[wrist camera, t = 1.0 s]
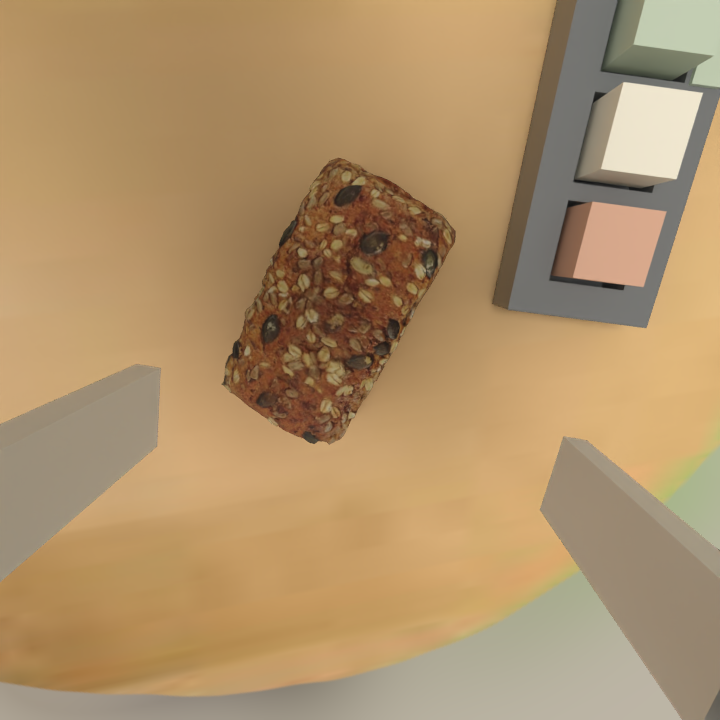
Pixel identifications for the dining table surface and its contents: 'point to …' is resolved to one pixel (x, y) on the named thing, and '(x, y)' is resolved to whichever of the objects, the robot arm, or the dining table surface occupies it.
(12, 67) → the dining table surface
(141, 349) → the dining table surface
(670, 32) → the key sage
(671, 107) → the key cream
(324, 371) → the bread
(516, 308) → the keypad board
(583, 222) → the key terracotta
